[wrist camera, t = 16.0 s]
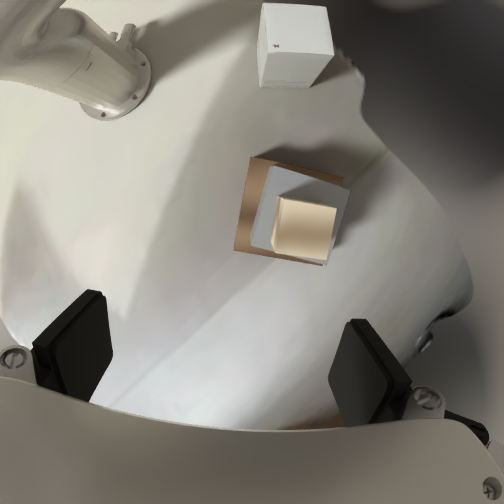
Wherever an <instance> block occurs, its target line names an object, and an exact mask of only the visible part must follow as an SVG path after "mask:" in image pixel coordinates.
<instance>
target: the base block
mask: <svg viewBox="0 0 504 504" xmlns="http://www.w3.org/2000/svg"><path fill="white" fill-rule="evenodd" d="M271 166H277V167H281V168H284V169H287V170H291V171H294V172H297V173H300V174H304V175H307V176H310V177H313V178H316V179H319V180H322V181H325V182H328V183H331V184H334V185H337V186H340V187H341V186H342V181H343V177H339V176H335V175H331V174H328V173H324V172H320V171H315V170H311V169H307V168H303V167H298V166H294V165H289V164H285V163H280V162H275V161H270V160H265V159H260V158H255V157H251V158H250V162H249V168H248V173H247V178H246V183H245V189H244V194H243V199H242V205H241V210H240V216H239V221H238V227H237V232H236V238H235V243H234V251H240V252H246V253H251V254H257V255H263V256H268V257H274V258H280V259H286V260H291V261H297V262H303V263H309V264H314V265H320V266H323V264H319V263H316V262H312V261H308V260H304V259H300V258H296V257H293V256H289V255H285V254H278V253H275V252H273V251H270V250H266V249H262V248H258V247H254V246H251V240H250V235H251V231H252V227H253V224H254V220H255V217H256V213H257V209H258V206H259V202H260V199H261V195H262V192H263V188H264V185H265V181H266V177H267V174H268V170H269V167H271Z"/></svg>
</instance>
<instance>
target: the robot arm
mask: <svg viewBox="0 0 504 504" xmlns="http://www.w3.org/2000/svg"><path fill="white" fill-rule="evenodd" d="M65 1H66V0H0V80H6V81H14V82H20V83H23V84H27V85H31V86H34V87H37V88H41V89H44V90H47V91H50V92H53V93H56V94H58V95H61V96H64V97H67V98H70V99H73V100H75V101H78V102H79V103H80V106H81V108H82V109H83V111H84V112H85V113H86V114H87V115H88V116H90V117H92V118H94V119H98V120H105V121H107V120H114V119H117V118H119V117H122V116H123V115H125V114H127V113H128V112H130V111H131V110H132V109H134V108H135V107H136V106H137V105H138V104H139V103H140V101H141V100H142V98H143V97H144V96H145V94H146V92H147V90H148V87H149V85H150V81H151V66H150V62H149V60H148V59H147V57H146V56H145V55H144V54H143V53H142V52H141V51H140V50H138V49H136V48H133V47H131V45H132V42H131V38H132V36H133V34H134V31H135V28H136V26H135V25H134V24H125V25H124V28H123V30H122V33H121V38H120V40H118V41H117V42H116V39H117V36H118V33H116V32H111V33H110V34H109V35H108V34H107V33H106V32H105V31H104V30H103V29H102V28H101V27H100V26H99V25H98V24H96V23H95V22H94V21H93V20H92V19H91V18H90V17H89V16H87V15H86V14H85V13H83V12H81V11H79V10H76V9H72V8H59V7H60V6H61V5H62V4H63V3H64V2H65ZM144 65H145V66H144ZM137 97H138V98H137ZM136 98H137V99H136ZM105 115H106V116H105ZM32 345H33V348H32V349H31V350H29V349H28V348H26V347H24V346H20V345H15V346H14V345H13V346H10V347H7V348H5V349H3V350H2V351H1V352H0V504H504V445H502V444H500V443H499V442H497V441H496V440H494V439H492V440H491V441H489V434H488V431H487V430H486V428H485V427H484V425H482V424H481V423H478V422H476V421H473V420H470V419H468V418H465V417H462V416H460V415H457V414H454V413H452V412H449V411H447V410H445V400H444V398H443V396H442V395H441V394H440V393H439V392H438V391H437V390H435V389H433V388H430V387H427V386H419V387H416V388H414V389H412V388H411V387H410V385H411V383H412V380H411V378H410V377H409V376H408V374H407V373H406V372H405V370H404V369H403V367H402V366H401V365H400V363H399V362H398V361H397V359H396V358H395V357H394V355H393V354H392V353H391V351H390V350H389V349H388V347H387V346H386V345H385V343H384V342H383V341H382V339H381V338H380V337H379V335H378V334H377V333H376V331H375V330H374V329H373V327H372V326H371V325H370V324H369V322H368V321H367V320H366V319H351V320H350V322H347V323H346V325H345V328H344V331H343V334H342V337H341V340H340V343H339V346H338V349H337V352H336V355H335V358H334V361H333V364H332V366H331V369H330V372H329V375H328V382H329V385H330V387H331V390H332V392H333V395H334V398H335V400H336V403H337V405H338V408H339V411H340V413H341V416H342V418H343V421H344V424H345V426H346V427H341V428H331V429H314V430H248V429H231V428H219V427H209V426H200V425H192V424H185V423H178V422H172V421H166V420H160V419H154V418H149V417H144V416H140V415H135V414H131V413H126V412H122V411H118V410H114V409H110V408H107V407H103V406H99V405H96V404H93V403H89V400H90V398H91V396H92V395H93V393H94V391H95V389H96V387H97V385H98V384H99V382H100V380H101V378H102V376H103V375H104V373H105V371H106V369H107V368H108V366H109V364H110V362H111V360H112V357H113V350H112V343H111V336H110V329H109V321H108V311H107V301H106V297H105V296H103V294H102V292H101V291H95V290H90V289H87V290H86V291H85V292H84V293H83V294H81V295H80V296H79V297H78V298H77V299H76V300H75V301H74V302H73V303H72V304H71V305H70V306H69V307H68V308H67V309H65V310H64V311H63V312H62V313H61V314H60V315H59V316H58V317H57V318H56V319H55V320H54V321H53V322H52V323H51V324H50V325H49V326H48V327H47V328H46V329H45V330H44V331H43V332H42V333H41V334H40V335H39V336H38V337H37V338H36V339H35V340H34V341H33V342H32Z"/></svg>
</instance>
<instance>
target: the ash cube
mask: <svg viewBox="0 0 504 504" xmlns="http://www.w3.org/2000/svg"><path fill="white" fill-rule="evenodd" d="M336 210H337V208H334V207H331V206H328V205H326V204H323V203H318V202H312V201H307V200H301V199H295V198H289V197H283V196H278V197H277V203H276V209H275V216H274V222H273V228H272V234H271V240H270V242H271V244H272V246H273V249H274V251H275V253H278V254H285V255H293V256H300V257H307V258H314V259H322V260H327V255H328V250H329V246H330V241H331V236H332V231H333V226H334V221H335V215H336Z"/></svg>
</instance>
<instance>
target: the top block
mask: <svg viewBox="0 0 504 504" xmlns="http://www.w3.org/2000/svg"><path fill="white" fill-rule="evenodd" d="M350 191H351V190H348V189H345V188H343V187H340V186H337V185H334V184H331V183H328V182H325V181H322V180H319V179H316V178H313V177H310V176H307V175H304V174H300V173H297V172H294V171H291V170H287V169H284V168H281V167H277V166H271V167H269V170H268V174H267V177H266V181H265V185H264V188H263V192H262V195H261V199H260V202H259V206H258V209H257V213H256V217H255V220H254V224H253V227H252V231H251V235H250V240H251V246H254V247H258V248H262V249H266V250H270V251H273V252H275V251H274V249H273V246H272V244H271V242H270V240H271V234H272V228H273V222H274V216H275V209H276V203H277V197H278V196H283V197H289V198H295V199H301V200H307V201H312V202H318V203H323V204H326V205H328V206H331V207H334V208H337V210H336V215H335V221H334V226H333V231H332V236H331V241H330V246H329V250H328V255H327V260H322V259H314V258H307V257H300V256H293V255H289V256H293V257H296V258H300V259H304V260H308V261H312V262H316V263H319V264H323V265H327V263H328V260H329V257H330V254H331V251H332V248H333V245H334V242H335V239H336V236H337V233H338V230H339V227H340V224H341V221H342V217H343V214H344V211H345V208H346V204H347V201H348V198H349V194H350Z"/></svg>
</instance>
